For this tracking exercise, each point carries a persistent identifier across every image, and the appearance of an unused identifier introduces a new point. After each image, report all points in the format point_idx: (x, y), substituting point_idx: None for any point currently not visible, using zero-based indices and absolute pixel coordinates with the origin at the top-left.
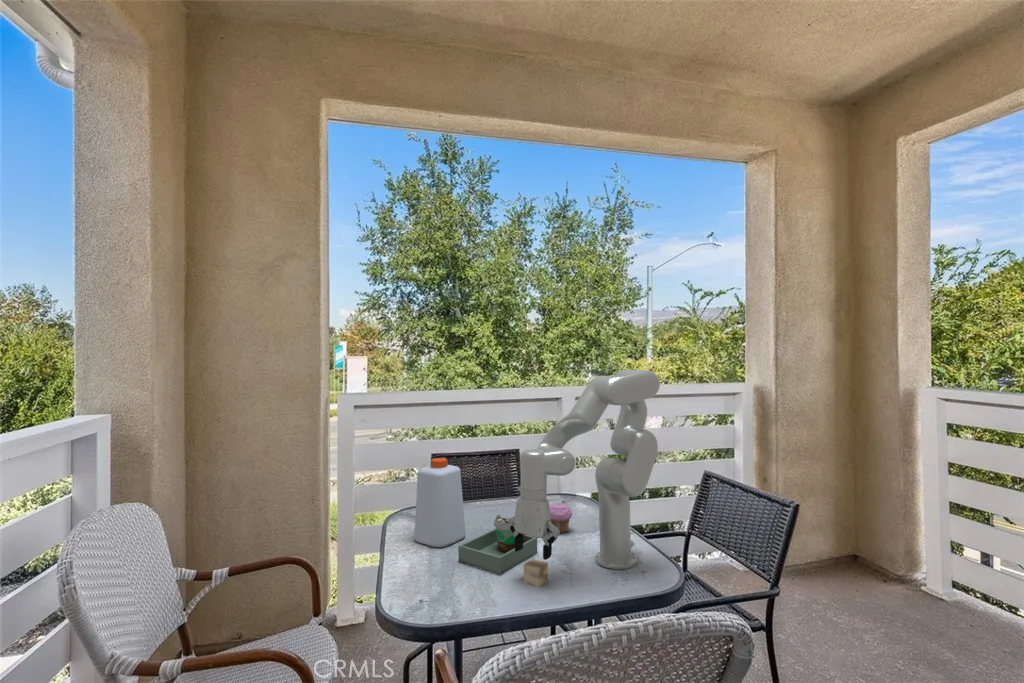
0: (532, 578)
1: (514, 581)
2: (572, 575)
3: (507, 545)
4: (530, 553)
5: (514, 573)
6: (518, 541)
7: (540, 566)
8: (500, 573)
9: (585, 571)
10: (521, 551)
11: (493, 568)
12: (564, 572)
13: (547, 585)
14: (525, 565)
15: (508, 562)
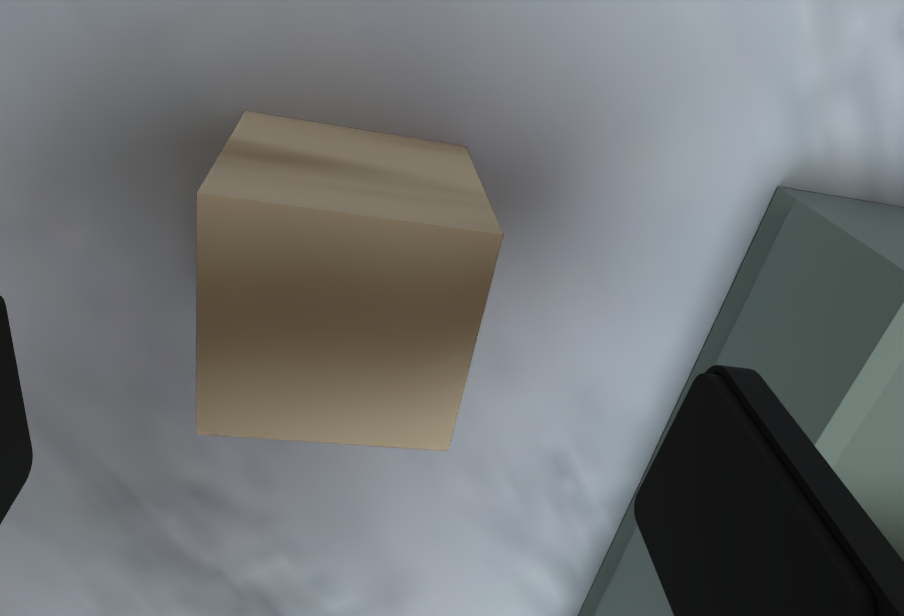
0: (332, 149)
1: (576, 111)
2: (75, 475)
3: None
4: (604, 608)
5: (637, 283)
6: (778, 557)
7: (215, 286)
8: (787, 193)
9: (24, 573)
10: None
11: (897, 221)
12: (181, 491)
13: (164, 183)
14: (462, 224)
15: (757, 365)
